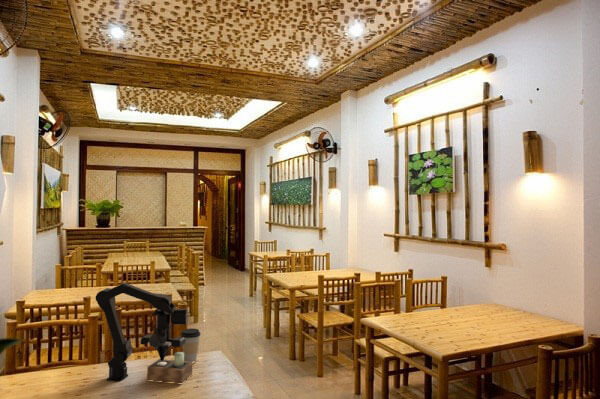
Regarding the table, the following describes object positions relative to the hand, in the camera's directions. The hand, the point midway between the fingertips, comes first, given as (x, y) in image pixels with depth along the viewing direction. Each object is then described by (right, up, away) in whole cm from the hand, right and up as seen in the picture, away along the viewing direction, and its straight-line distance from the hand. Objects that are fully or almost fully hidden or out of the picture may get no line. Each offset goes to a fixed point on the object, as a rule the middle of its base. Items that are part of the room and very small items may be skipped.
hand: (162, 360), depth 180 cm
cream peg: (0, -7, 0) cm, 7 cm away
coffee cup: (+7, -8, +19) cm, 22 cm away
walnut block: (+4, -8, -1) cm, 8 cm away
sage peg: (+8, -3, -1) cm, 8 cm away
